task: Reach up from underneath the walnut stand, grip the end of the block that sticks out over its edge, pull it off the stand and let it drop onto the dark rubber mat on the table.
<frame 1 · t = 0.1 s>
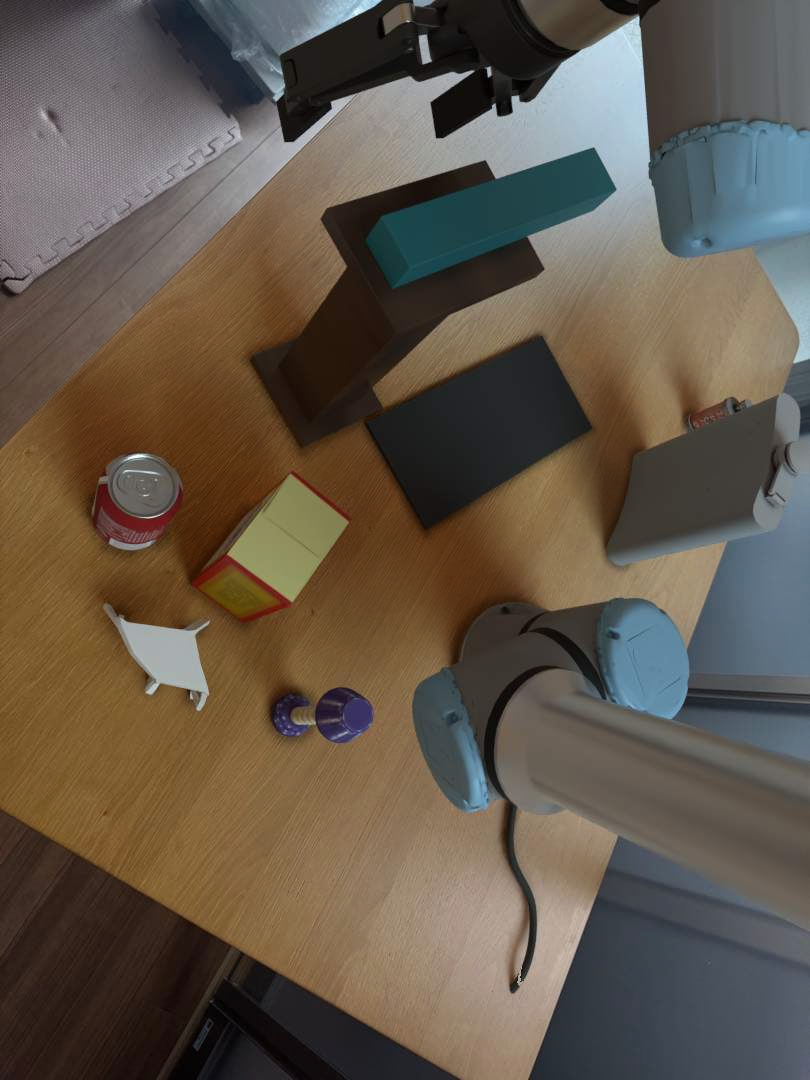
hand: (364, 121, 56), 28 cm above the table, tool tilted 20°, fingers open, 13 cm apart
block: (489, 224, 58), point 29 cm above the table, touching stand
lighter: (700, 439, 107), on the table
mat: (486, 426, 90), on the table
white flat legged piece: (155, 648, 69), on the table
stand: (316, 386, 81), on the table
soda can: (129, 517, 70), on the table
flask: (632, 509, 99), on the table
baking soda box: (245, 567, 74), on the table
toy lamp: (293, 713, 73), on the table
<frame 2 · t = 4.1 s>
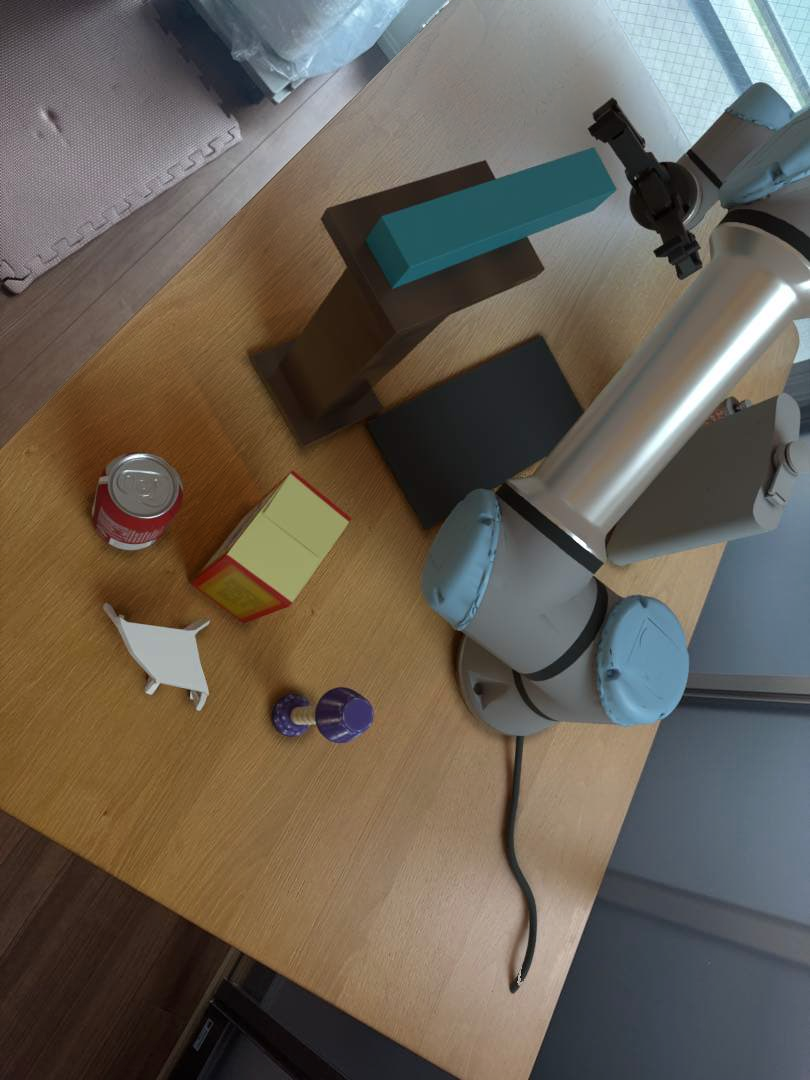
hand: (634, 184, 72), 26 cm above the table, tool pointing upward, fingers open, 13 cm apart
nothing on the table moved.
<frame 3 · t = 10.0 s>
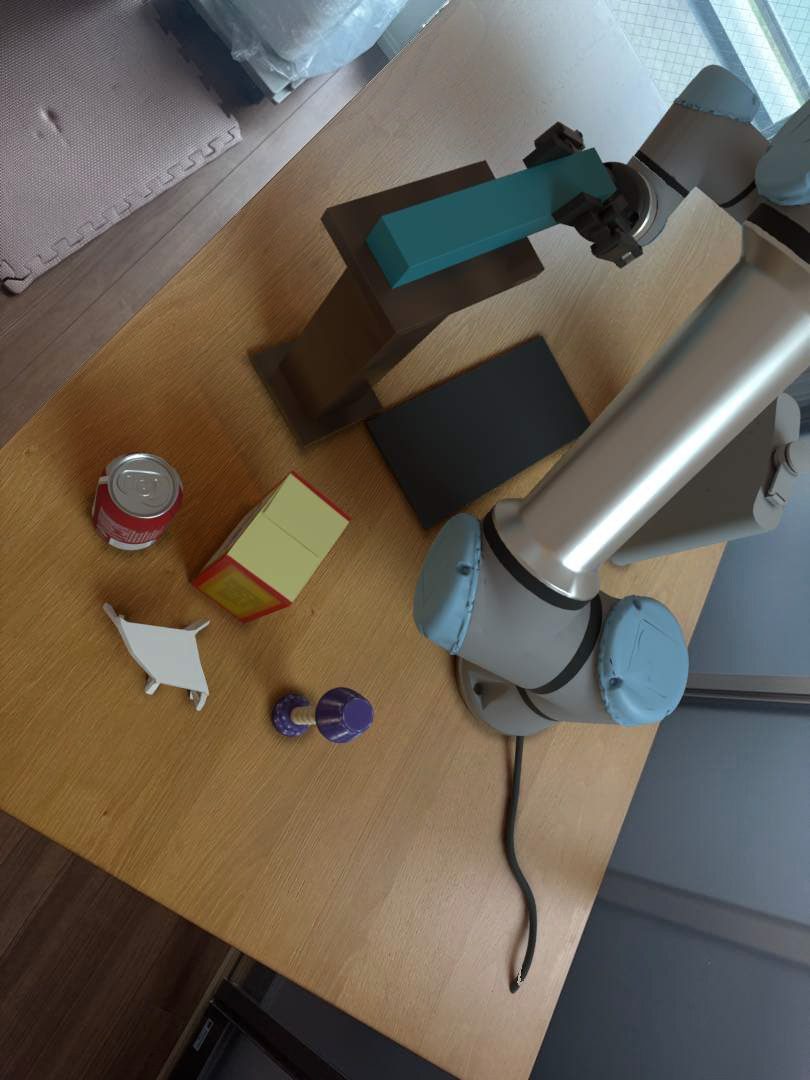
hand: (554, 180, 56), 34 cm above the table, tool pointing upward, fingers closed on block, 4 cm apart
block: (489, 224, 58), point 29 cm above the table, touching gripper, stand
everything else where it was.
when the fingers open (22 cm above the table, at t = 20.9 s): block drops 17 cm, resting on mat.
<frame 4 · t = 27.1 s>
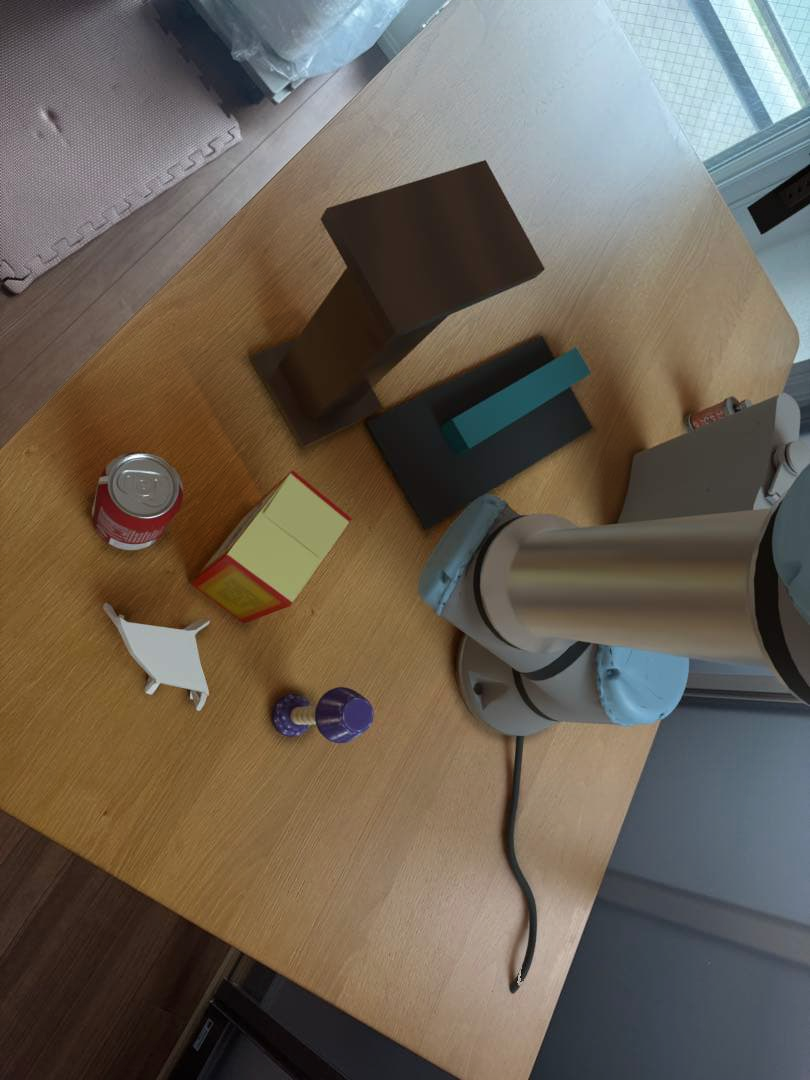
hand: (794, 202, 68), 35 cm above the table, tool pointing down, fingers open, 13 cm apart
block: (512, 403, 92), point 1 cm above the table, touching mat
everything else where it was.
at the end: block inside the target area on the mat (5.0 cm from its centre), point 0.6 cm above the mat's base; the gripper is holding nothing; block moved 36.1 cm from its start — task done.
